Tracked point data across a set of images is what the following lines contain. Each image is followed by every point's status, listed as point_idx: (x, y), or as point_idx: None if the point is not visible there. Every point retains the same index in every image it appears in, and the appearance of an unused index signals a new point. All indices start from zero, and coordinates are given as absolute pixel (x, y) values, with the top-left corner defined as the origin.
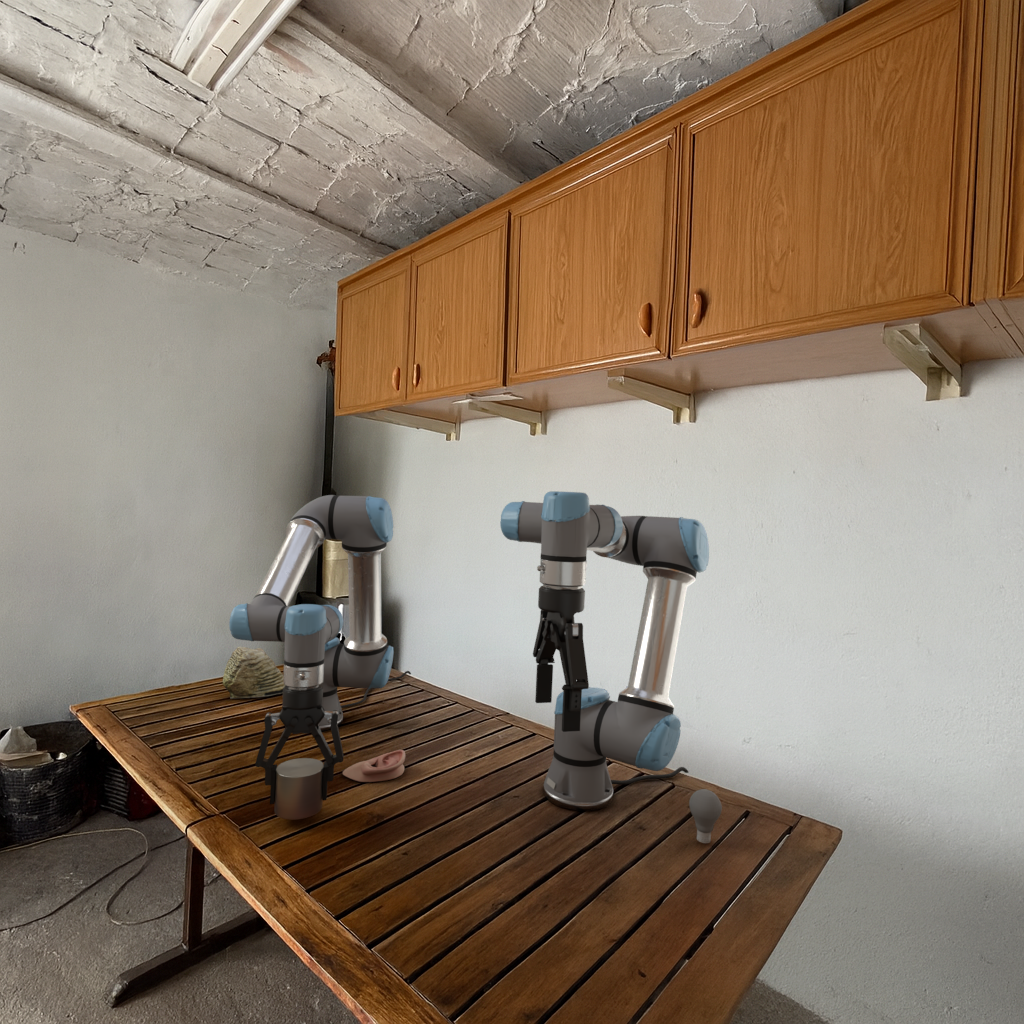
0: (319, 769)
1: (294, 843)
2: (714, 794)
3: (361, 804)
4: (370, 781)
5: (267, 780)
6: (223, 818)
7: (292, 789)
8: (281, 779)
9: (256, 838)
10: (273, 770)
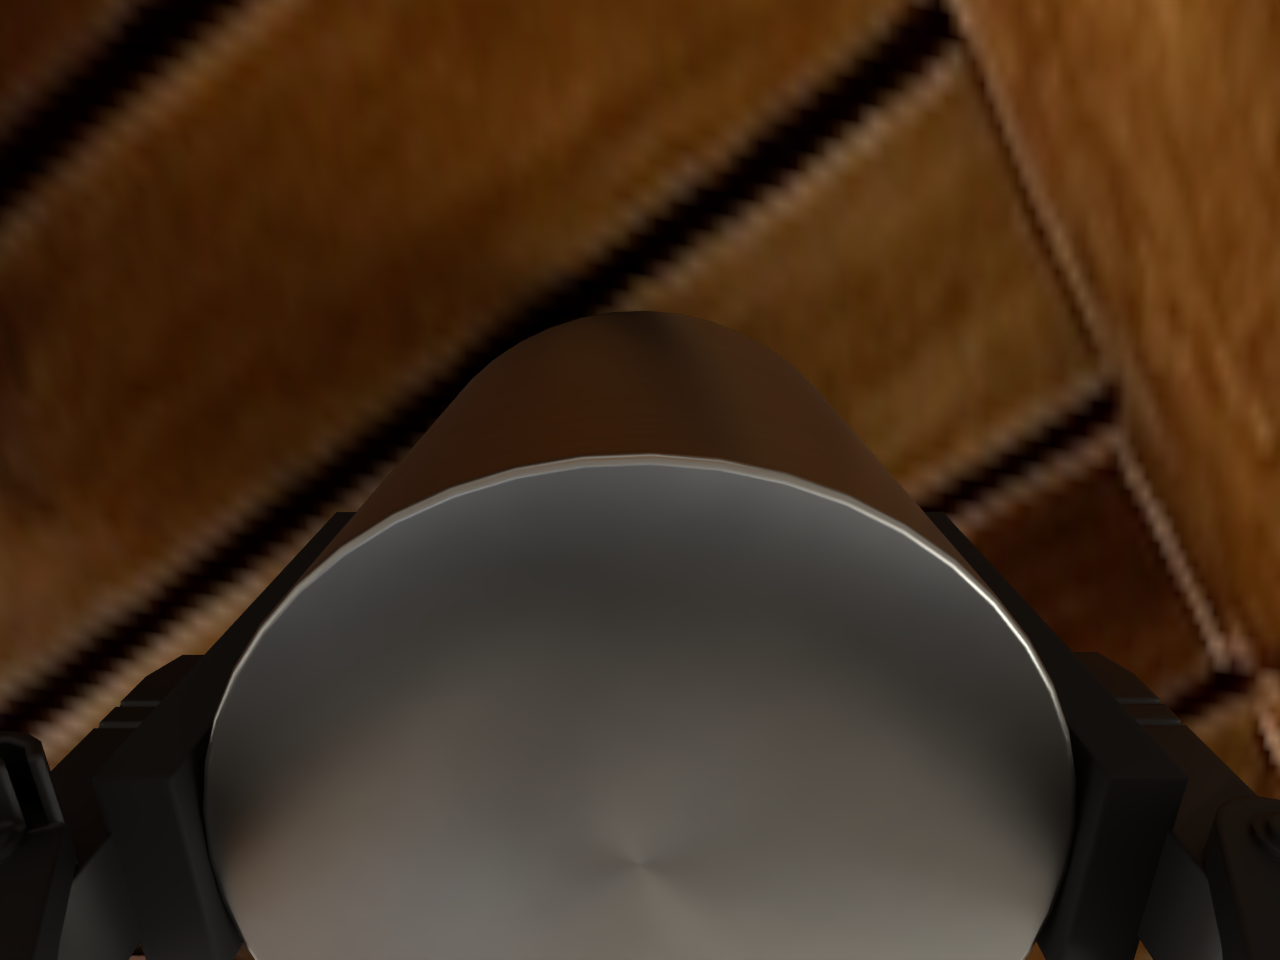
0: (254, 735)
1: (636, 52)
2: None
3: (141, 655)
4: (135, 957)
5: (1117, 695)
6: (1233, 597)
7: (726, 393)
8: (954, 548)
9: (983, 215)
10: (1145, 775)
